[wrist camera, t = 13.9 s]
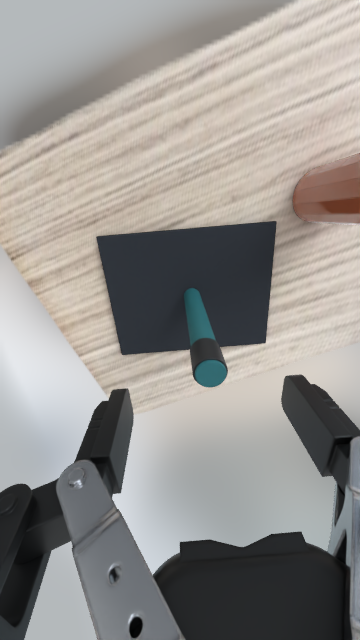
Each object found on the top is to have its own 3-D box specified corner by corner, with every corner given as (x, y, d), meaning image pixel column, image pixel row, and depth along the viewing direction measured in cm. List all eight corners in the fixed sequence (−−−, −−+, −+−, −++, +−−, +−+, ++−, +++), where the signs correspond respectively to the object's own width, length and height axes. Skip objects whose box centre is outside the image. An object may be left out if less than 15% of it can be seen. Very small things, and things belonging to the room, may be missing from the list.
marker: (183, 304, 26) (194, 390, 13) (182, 287, 25) (192, 361, 12) (201, 303, 26) (228, 387, 13) (200, 286, 25) (228, 358, 12)
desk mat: (122, 352, 29) (121, 355, 29) (97, 236, 23) (96, 236, 23) (263, 340, 29) (265, 343, 28) (274, 221, 23) (276, 221, 23)
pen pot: (289, 224, 23) (352, 229, 15) (296, 167, 21) (373, 138, 13) (336, 220, 23) (424, 223, 15) (347, 163, 21) (456, 131, 13)
